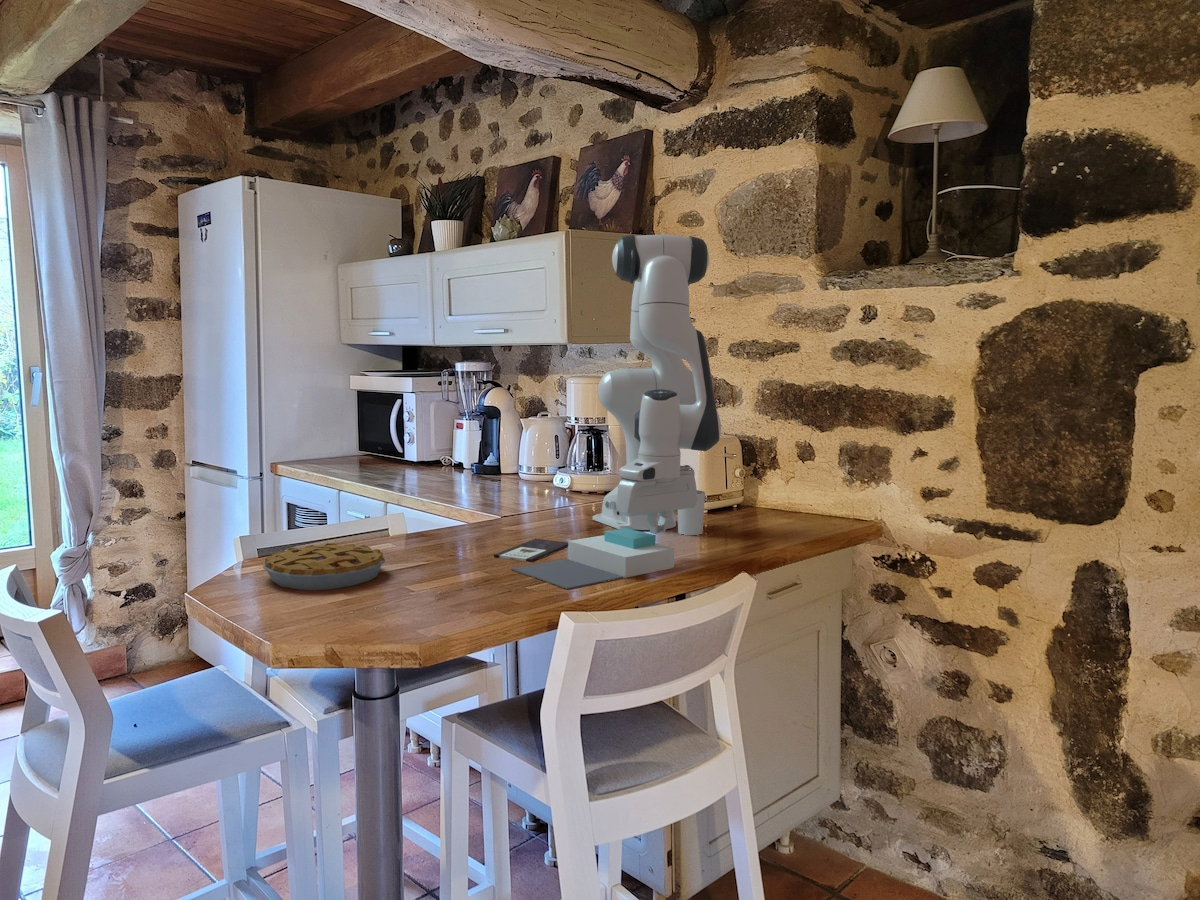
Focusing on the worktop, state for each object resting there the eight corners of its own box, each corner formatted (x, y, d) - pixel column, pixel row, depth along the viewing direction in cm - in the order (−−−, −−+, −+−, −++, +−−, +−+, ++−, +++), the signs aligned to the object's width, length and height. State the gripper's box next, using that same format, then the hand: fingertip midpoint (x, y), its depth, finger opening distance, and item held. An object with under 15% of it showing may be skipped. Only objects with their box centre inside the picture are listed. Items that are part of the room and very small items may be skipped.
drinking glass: (671, 534, 209) (672, 492, 208) (682, 529, 215) (683, 488, 214) (698, 537, 206) (699, 495, 205) (708, 532, 212) (709, 491, 211)
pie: (341, 558, 182) (340, 534, 181) (408, 576, 168) (407, 551, 168) (241, 578, 165) (240, 552, 165) (306, 600, 151) (305, 572, 151)
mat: (511, 569, 173) (511, 568, 173) (566, 560, 182) (566, 558, 182) (566, 589, 160) (566, 588, 159) (623, 578, 168) (623, 576, 168)
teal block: (604, 541, 182) (604, 531, 182) (626, 537, 186) (626, 528, 186) (633, 548, 175) (633, 538, 175) (655, 544, 179) (655, 535, 179)
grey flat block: (568, 559, 182) (568, 540, 182) (615, 551, 190) (615, 533, 190) (625, 577, 168) (625, 557, 168) (673, 567, 177) (674, 548, 176)
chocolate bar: (570, 542, 196) (531, 559, 180) (570, 547, 196) (531, 564, 180) (535, 538, 200) (494, 554, 184) (535, 542, 200) (493, 559, 184)
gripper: (683, 462, 193) (682, 524, 194) (612, 469, 180) (611, 536, 181) (704, 465, 188) (702, 529, 190) (633, 473, 175) (632, 541, 177)
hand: (657, 532), depth 185 cm, fingers closed
